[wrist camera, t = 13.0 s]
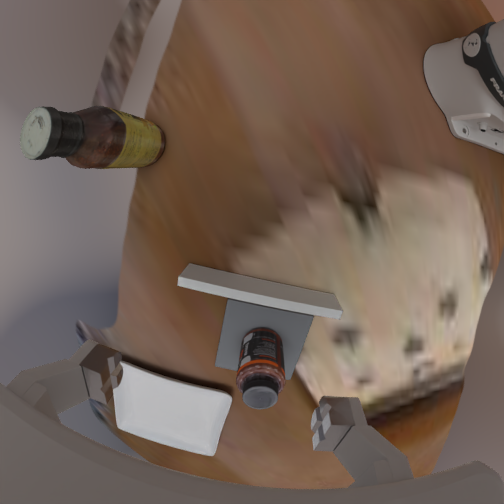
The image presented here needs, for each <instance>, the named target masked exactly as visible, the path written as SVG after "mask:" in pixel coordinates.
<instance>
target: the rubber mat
mask: <svg viewBox="0 0 504 504" xmlns="http://www.w3.org/2000/svg"><path fill="white" fill-rule="evenodd" d="M313 317H314V316H313V315H311V314H306V313H300V312H295V311H290V310H285V309H280V308H275V307H270V306H265V305H260V304H255V303H251V302H246V301H241V300H237V299H232V298H228V301H227V306H226V311H225V316H224V321H223V326H222V331H221V337H220V342H219V347H218V352H217V357H216V362H215V366H217V367H221V368H226V369H231V370H235V371H237V370H238V363H239V356H240V350H241V343H242V340H243V338H244V336H245V335H246V334H247V333H249V332H250V331H252V330H255V329H260V328H264V329H269V330H272V331H274V332H275V333H277V334H278V335H279V336H280V338H281V340H282V344H283V352H284V365H285V379H287V380H290V379H291V376H292V374H293V371H294V369H295V366H296V364H297V361H298V358H299V356H300V353H301V351H302V348H303V345H304V342H305V340H306V337H307V334H308V332H309V329H310V326H311V323H312V320H313Z"/></svg>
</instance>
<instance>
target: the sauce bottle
mask: <svg viewBox="0 0 504 504" xmlns="http://www.w3.org/2000/svg"><path fill="white" fill-rule="evenodd" d="M20 145H21V149H22V152H23V154H24V155H25V157H26V158H28V159H30V160H42V159H46V158H49V157H56V156H59V157H61V158H66V160H67V161H68V162H69V163H70V164H71V165H73V166H76V167H79V168H85V169H86V168H89V169H90V168H96V169H109V168H139V167H143V166H149V165H151V164H153V163H154V162H155V161H156V160H157V159H158V158H159V157H160V156H161V154H162V152H163V150H164V145H165V138H164V134H163V132H162V130H161V129H160V128H159V127H158V126H157V125H156V124H154V123H153V122H151V121H149V120H146V119H143V118H140V117H136V116H134V115H131V114H127V113H124V112H121V111H118V110H115V109H111V108H108V107H104V106H94V107H90V108H87V109H84V110H80V111H77V112H73V113H72V112H70V113H67V112H62V111H58V110H56V109H55V108H53V107H38V108H35V109H34V110H33V111H31V113H30V114H29V115H28V117H27V118H26V120H25V122H24V125H23V127H22V131H21V135H20Z"/></svg>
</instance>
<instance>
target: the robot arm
mask: <svg viewBox="0 0 504 504" xmlns="http://www.w3.org/2000/svg"><path fill="white" fill-rule="evenodd" d="M424 74H425V78H426V82H427V84H428V87H429V89H430V92H431V94H432V96H433V97H434V99H435V101H436V102H437V104H438V105H439V107H440V108H441V110H442V111H443V112H444V114H445V116H446V118H447V121H448V124H449V127H450V130H451V132H452V134H453V135H454V136H455V137H457V138H459V139H463V140H466V141H469V142H472V143H475V144H478V145H480V146H483V147H486V148H489V149H491V150H494V151H497V152H499V153H502V154H504V19H503V20H501V21H499V22H497V23H496V22H490V23H487V24H485V25H483V26H481V27H479V28H477V29H475V30H474V31H473V32H471V33H470V34H469V35H468V36H465V37H462V38H455V39H453V40H451V41H449V42H445V43H439V44H435V45H432V46H431V47H430V48H429V49H428V50H427V51H426V53H425V57H424ZM463 131H464V133H463ZM121 360H122V356H121V352H119V351H117V350H114V349H112V348H109V347H107V346H104V345H102V344H100V343H97V342H94V341H92V340H87V341H86V342H85V343H84V344H83V345H82V346H81V347H80V348H79V349H78V350H77V352H75V353H74V355H73V356H72V357H71V358H70V359H69V360H67V359H64V360H60V361H57V362H54V363H50V364H46V365H42V366H39V367H35V368H32V369H27V370H24V371H21V372H20V373H19V374H18V375H17V376H16V377H15V378H14V379H13V380H12V381H11V382H10V383H9V384H8V385H7V387H5V386H4V385H3V384H1V383H0V504H504V482H503V480H502V479H501V477H500V475H499V474H498V473H497V472H496V471H495V470H493V469H492V468H490V467H489V466H487V465H485V464H484V463H482V462H480V461H472V462H470V463H467V464H463V465H461V466H458V467H455V468H452V469H449V470H445V471H441V472H438V473H434V474H430V475H426V476H422V477H418V478H414V477H413V474H412V471H411V468H410V465H409V462H408V459H407V456H405V455H404V454H403V453H402V452H401V451H399V450H398V449H397V448H396V447H395V446H393V445H392V444H391V443H390V442H389V441H388V440H386V439H385V438H384V437H383V436H382V435H381V434H379V433H378V432H377V431H376V430H375V429H374V428H373V427H371V426H368V425H367V422H366V419H365V416H364V412H363V409H362V406H361V403H360V400H359V398H356V397H334V396H323V397H322V398H321V399H320V401H319V405H320V407H318V408H316V409H315V411H314V413H313V415H312V419H311V430H312V431H313V432H314V433H315V435H314V436H313V438H312V439H313V449H314V450H315V451H334V452H333V453H334V454H335V455H336V457H337V458H338V459H339V461H340V462H341V463H342V464H343V466H344V467H345V468H346V469H347V471H348V472H349V473H350V475H351V476H352V477H353V478H354V479H355V482H354V483H352V484H351V485H350V486H349V487H348V488H339V489H284V488H270V487H259V486H250V485H243V484H236V483H229V482H223V481H218V480H213V479H208V478H203V477H199V476H194V475H190V474H186V473H182V472H178V471H175V470H171V469H168V468H164V467H161V466H158V465H155V464H152V463H149V462H145V461H142V460H140V459H137V458H134V457H132V456H129V455H126V454H124V453H121V452H119V451H116V450H114V449H112V448H109V447H107V446H105V445H102V444H100V443H98V442H96V441H94V440H92V439H90V438H87V437H85V436H83V435H81V434H79V433H78V432H75V431H74V430H72V429H70V428H68V427H66V426H64V425H63V424H61V421H60V419H59V417H58V415H57V414H59V413H61V412H63V411H65V410H67V409H69V408H71V407H73V406H75V405H77V404H79V403H81V402H83V401H85V400H87V399H89V397H90V398H92V399H94V400H97V401H99V402H102V403H104V404H108V402H109V400H110V399H111V397H112V396H113V389H115V388H117V387H118V386H119V385H120V383H121V380H122V377H123V367H122V365H121V364H120V361H121Z"/></svg>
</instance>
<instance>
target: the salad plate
mask: <svg viewBox="0 0 504 504" xmlns="http://www.w3.org/2000/svg"><path fill="white" fill-rule="evenodd" d="M120 364H121V365H122V367H123V377H122V380H121V383H120V385H119V386H118V387H117V388H115V389H113V394H114V403H115V413H116V422H117V426H118V428H119V429H121V430H124V431H127V432H129V433H132V434H134V435H137V436H140V437H143V438H146V439H149V440H152V441H155V442H158V443H161V444H165V445H168V446H171V447H175V448H179V449H182V450H186V451H190V452H194V453H198V454H203V455H208V456H213V455H214V454H215V452H216V449H217V446H218V442H219V438H220V434H221V431H222V428H223V425H224V422H225V419H226V417H227V414H228V411H229V409H230V406H231V403H232V397H231V396H230V394H228V393H227V392H225V391H222V390H218V389H214V388H209V387H204V386H200V385H195V384H191V383H187V382H184V381H180V380H177V379H173V378H170V377H167V376H163V375H160V374H157V373H154V372H151V371H149V370H146V369H143V368H141V367H138V366H135V365H133V364H130V363H128V362H125V361H122V360H121V361H120Z"/></svg>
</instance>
